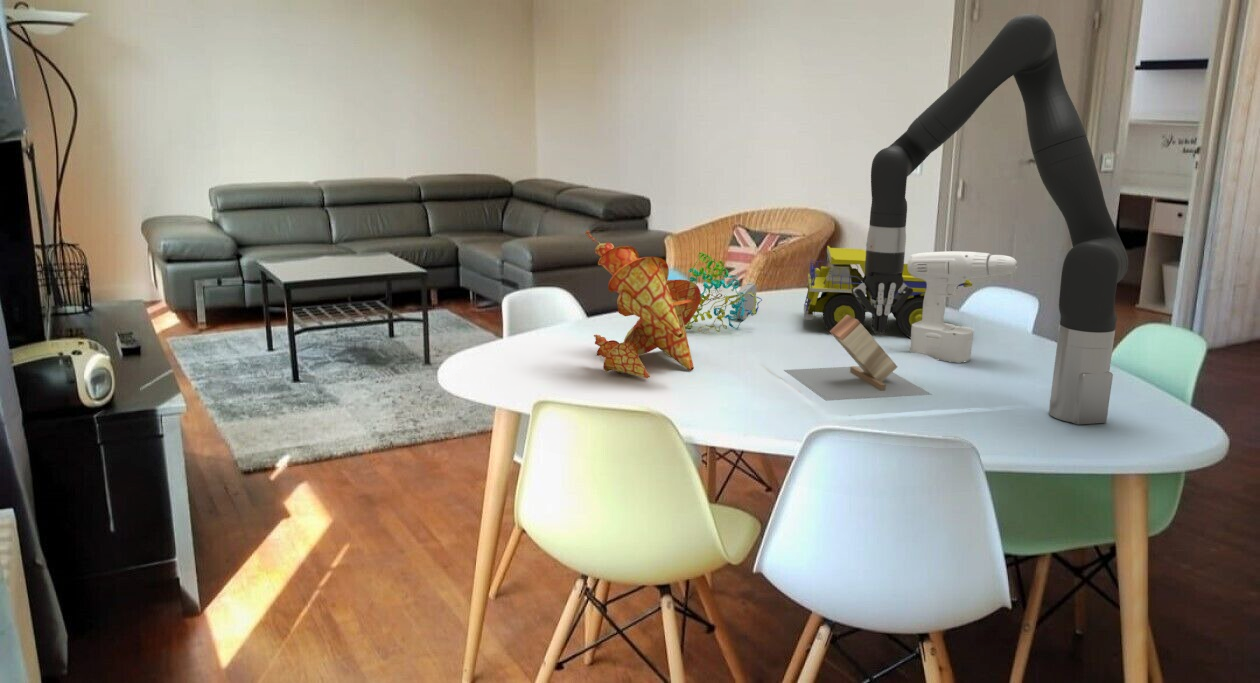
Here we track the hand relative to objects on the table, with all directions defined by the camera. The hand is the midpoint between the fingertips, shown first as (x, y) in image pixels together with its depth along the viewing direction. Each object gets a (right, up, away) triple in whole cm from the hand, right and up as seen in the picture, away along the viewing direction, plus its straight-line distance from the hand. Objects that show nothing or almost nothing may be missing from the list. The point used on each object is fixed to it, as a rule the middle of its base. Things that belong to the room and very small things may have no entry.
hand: (878, 332), depth 191 cm
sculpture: (-47, -7, +16) cm, 50 cm away
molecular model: (-30, +1, +51) cm, 59 cm away
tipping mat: (-5, -11, +1) cm, 12 cm away
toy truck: (+15, +1, +54) cm, 56 cm away
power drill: (+23, -6, +24) cm, 34 cm away
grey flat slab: (-19, +5, +68) cm, 71 cm away
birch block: (+1, -8, +2) cm, 9 cm away
